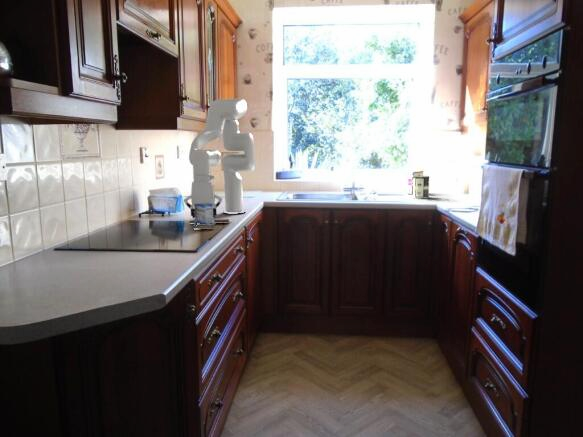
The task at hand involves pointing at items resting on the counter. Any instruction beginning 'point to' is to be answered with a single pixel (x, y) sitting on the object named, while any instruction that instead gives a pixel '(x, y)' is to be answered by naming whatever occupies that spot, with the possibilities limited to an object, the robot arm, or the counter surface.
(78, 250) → the counter surface
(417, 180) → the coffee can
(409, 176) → the candy bar box
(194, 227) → the grey shallow tray
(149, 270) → the counter surface
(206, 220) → the medicine box
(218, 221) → the door-edge strip
